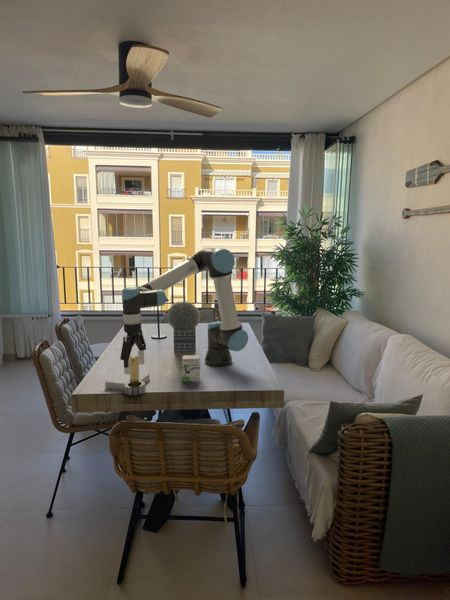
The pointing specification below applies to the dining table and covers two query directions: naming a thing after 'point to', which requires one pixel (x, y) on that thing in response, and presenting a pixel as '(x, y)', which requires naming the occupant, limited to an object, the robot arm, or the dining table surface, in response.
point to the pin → (134, 371)
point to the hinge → (127, 388)
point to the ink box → (190, 368)
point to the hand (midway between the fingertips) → (134, 368)
